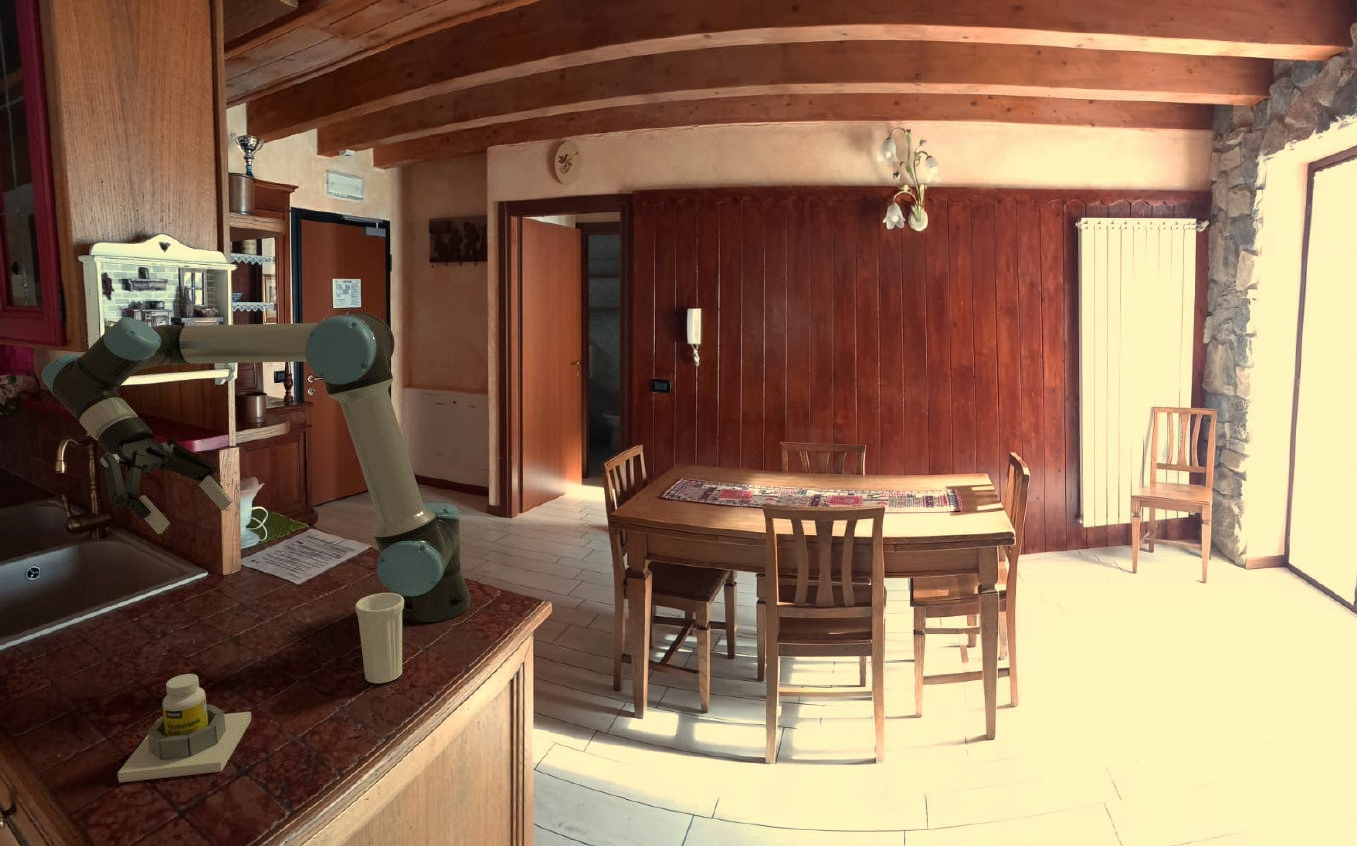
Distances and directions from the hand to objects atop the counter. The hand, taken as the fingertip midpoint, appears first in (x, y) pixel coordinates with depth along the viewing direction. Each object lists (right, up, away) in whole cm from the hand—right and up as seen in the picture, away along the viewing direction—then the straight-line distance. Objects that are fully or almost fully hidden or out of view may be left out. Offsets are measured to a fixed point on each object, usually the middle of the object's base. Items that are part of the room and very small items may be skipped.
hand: (197, 516), depth 133 cm
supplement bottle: (+12, -31, -21) cm, 40 cm away
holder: (+12, -32, -21) cm, 40 cm away
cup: (+33, -29, +1) cm, 44 cm away
